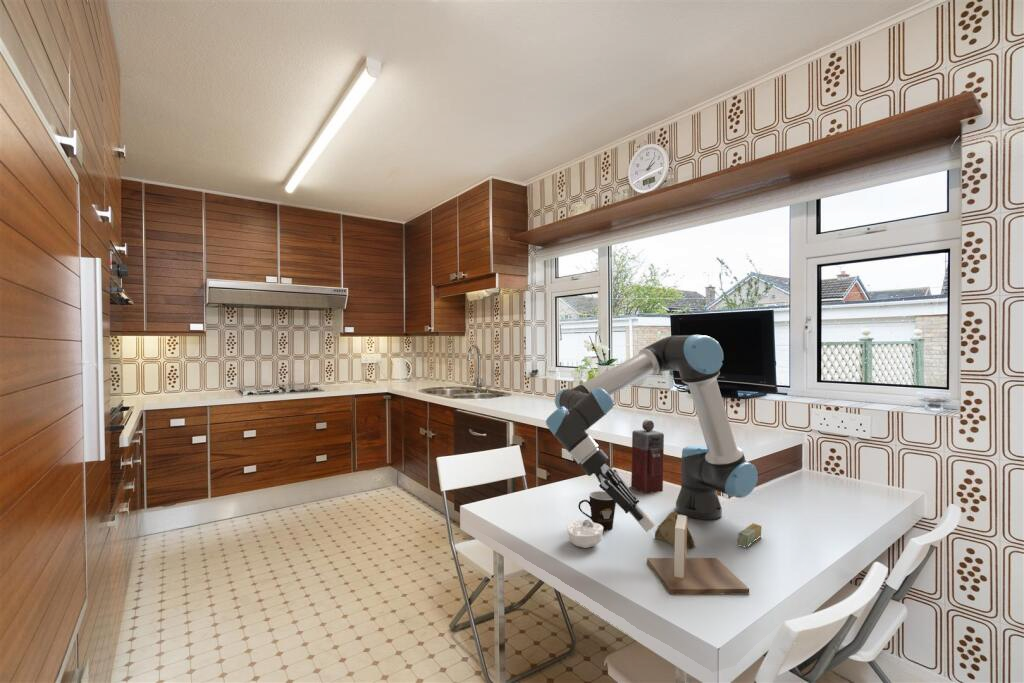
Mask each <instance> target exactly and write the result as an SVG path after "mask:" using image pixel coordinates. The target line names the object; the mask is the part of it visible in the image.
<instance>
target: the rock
mask: <svg viewBox="0 0 1024 683" xmlns="http://www.w3.org/2000/svg"><path fill="white" fill-rule="evenodd" d="M678 515H681V514H680V513H679V512H677V511H673V512H670V513H669V514H668V516H666V517H665V519H664V520H663V521H662V522H660V524H659V525H658V526H657V529H656V530H655V532H654V538H656V539H658V540H662V541H663V542H665V543H668V544H670V545H672V546H675V526H676V521H677V516H678ZM693 548H696V545H695V541H694V538H693V535H692V533H691V531H689V528H688V527H687V549H693Z"/></svg>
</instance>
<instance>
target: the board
mask: <svg viewBox="0 0 1024 683" xmlns="http://www.w3.org/2000/svg"><path fill="white" fill-rule="evenodd" d="M646 563H647V565H648V566H649V567H650V569H651V570H652V572H653V573H654V572H655V573H654V574H655V576H656V577H657V579H658V580H659V579H660V580H659V582H661V583H663V584H662V585H663V586H664V587H665V589H666V591H667V590H668V591H667V592H668V593H669V595H722V594H721V593H725V594H724V595H731V594H730V593H749V594H750V587H748V586H747V585H746V584H745V583H744V582H743V581H742V580H741V579H740V578H739V577H737V575H735V574H734V573H733V572H732V571H731V570H730V569H729V568H728V567H727V566H725V564H723V563H722V562H721V561H720V560H719V559H718V558H717V557H686V569H685V577H684V578H679V577H674V557H647V558H646Z"/></svg>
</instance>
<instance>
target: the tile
mask: <svg viewBox="0 0 1024 683" xmlns="http://www.w3.org/2000/svg"><path fill="white" fill-rule="evenodd" d="M687 528H688V516H685V515H683V514H680V515H678V516H677V521H676V526H675V545H674V556H673V558H674V577H679V578H684V577H685V569H686V558H688V557H687V549H688V548H687Z"/></svg>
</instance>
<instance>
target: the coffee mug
mask: <svg viewBox="0 0 1024 683" xmlns="http://www.w3.org/2000/svg"><path fill="white" fill-rule="evenodd" d="M588 495H589V500H587V499H582V500H581V501H579V503H578V505H577V506H578V510H579V511H580V512H581V513H582V514H583V515H584V516H586V517H588V518H589V519H590V520H591V521H592V522H594V523H598V524H600V525H602V526H603V530H605V531H604V532H607V530H608V531H611V530H613V526H614V519H615V512H616V504H617V503H616V502H615V501H614V500H613V499H612V498H611V497H610V496H609V495H608V494H607V493H606V492H605V491H604V490H603V491H599V490H598V491H597V490H596V491H591V492H590V493H589V494H588ZM583 503H587V504H588V505H589V507H590V515H589V514H588V513H587V512H584V511H583V510H582V509H581V505H582V504H583Z"/></svg>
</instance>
